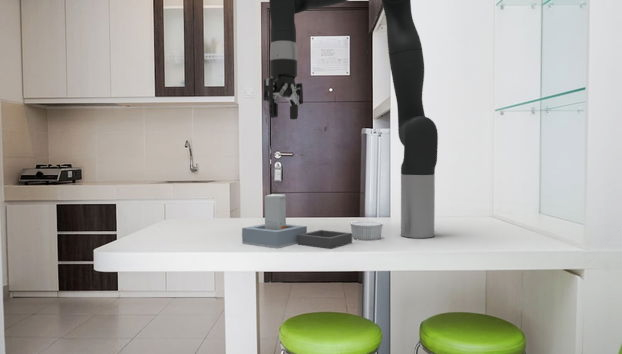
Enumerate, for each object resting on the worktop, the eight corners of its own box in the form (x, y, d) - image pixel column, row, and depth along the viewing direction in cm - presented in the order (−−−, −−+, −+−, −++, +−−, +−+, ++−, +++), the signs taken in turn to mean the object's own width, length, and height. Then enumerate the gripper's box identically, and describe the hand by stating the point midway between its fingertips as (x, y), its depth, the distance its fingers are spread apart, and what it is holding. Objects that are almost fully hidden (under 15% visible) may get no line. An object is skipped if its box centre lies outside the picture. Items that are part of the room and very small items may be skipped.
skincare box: (280, 242, 131) (280, 196, 130) (264, 242, 132) (264, 195, 131) (286, 238, 137) (286, 194, 136) (271, 238, 138) (270, 193, 137)
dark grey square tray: (320, 239, 138) (320, 229, 138) (351, 242, 132) (351, 233, 132) (297, 244, 131) (297, 234, 130) (329, 248, 124) (329, 238, 124)
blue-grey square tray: (272, 237, 142) (272, 222, 142) (306, 241, 135) (306, 226, 135) (242, 243, 133) (242, 228, 133) (277, 248, 126) (276, 232, 125)
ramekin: (389, 238, 139) (389, 223, 139) (364, 242, 134) (364, 225, 134) (368, 234, 146) (368, 219, 146) (343, 237, 141) (343, 222, 141)
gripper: (277, 54, 133) (277, 116, 134) (309, 61, 145) (310, 119, 145) (256, 57, 138) (256, 117, 139) (289, 64, 149) (290, 120, 150)
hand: (284, 118), depth 142 cm, fingers open, 8 cm apart
